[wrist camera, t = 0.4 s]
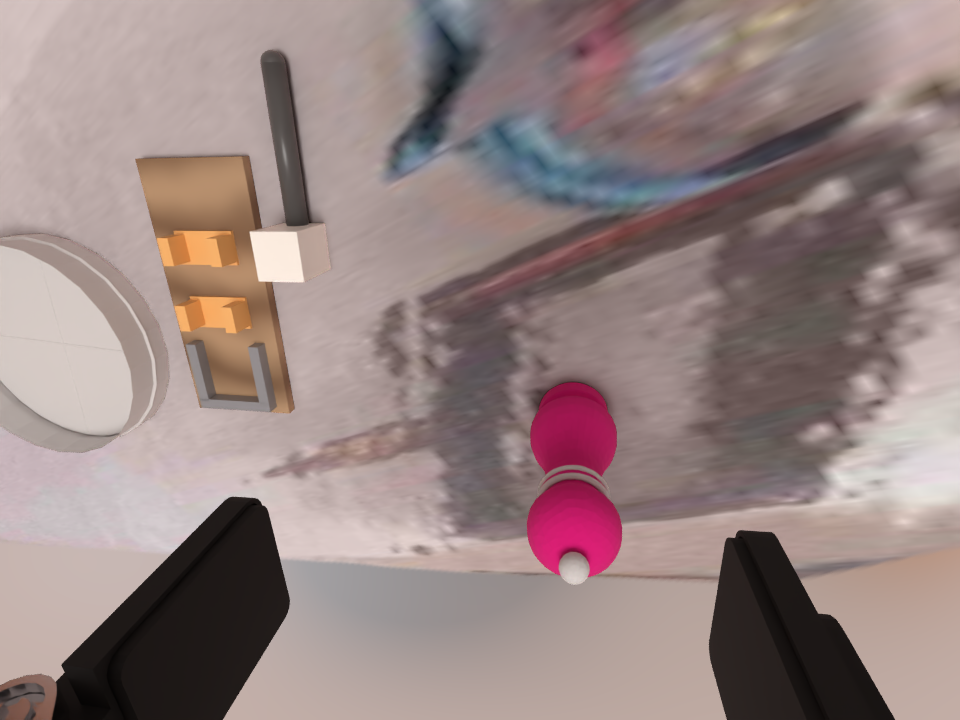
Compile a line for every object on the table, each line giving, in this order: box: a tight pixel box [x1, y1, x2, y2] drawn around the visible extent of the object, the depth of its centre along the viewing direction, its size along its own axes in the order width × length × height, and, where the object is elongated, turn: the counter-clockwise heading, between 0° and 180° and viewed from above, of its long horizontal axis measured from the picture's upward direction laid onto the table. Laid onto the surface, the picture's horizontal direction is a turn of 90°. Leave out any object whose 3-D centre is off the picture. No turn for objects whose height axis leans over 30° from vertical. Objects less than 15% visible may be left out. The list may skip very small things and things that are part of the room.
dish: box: [0, 233, 170, 453], centre depth 51 cm, size 22×22×5 cm
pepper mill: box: [527, 382, 622, 585], centre depth 38 cm, size 7×7×20 cm
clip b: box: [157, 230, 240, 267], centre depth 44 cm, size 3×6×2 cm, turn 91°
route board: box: [135, 156, 294, 413], centre depth 48 cm, size 24×10×1 cm, turn 1°
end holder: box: [186, 340, 277, 412], centre depth 50 cm, size 7×8×1 cm
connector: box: [250, 50, 331, 282], centre depth 40 cm, size 17×4×5 cm, turn 1°
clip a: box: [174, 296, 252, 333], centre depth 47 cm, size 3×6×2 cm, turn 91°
